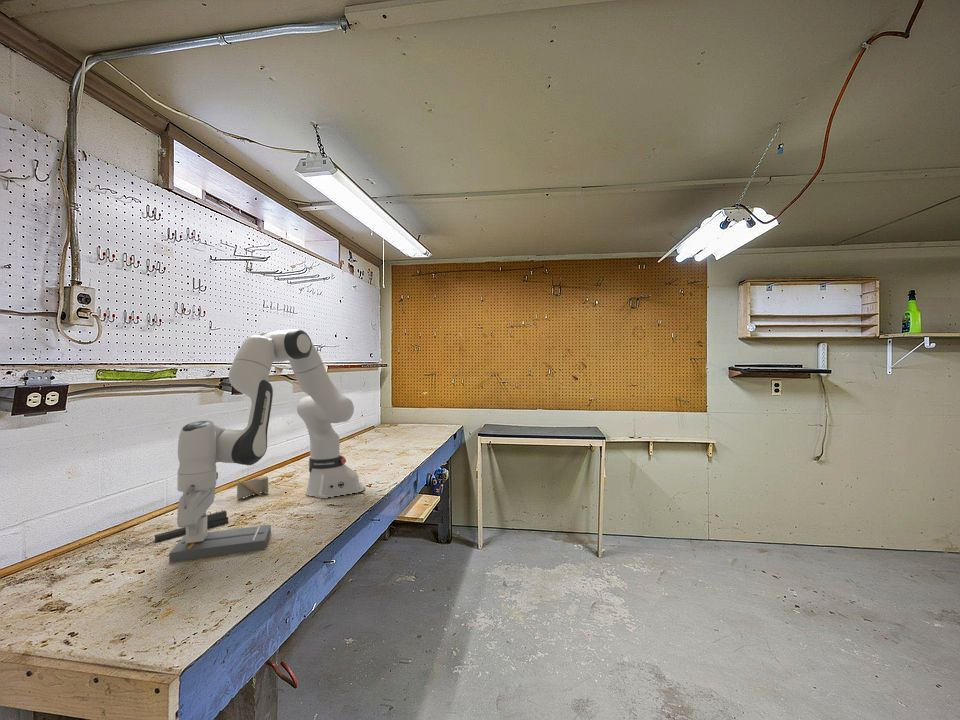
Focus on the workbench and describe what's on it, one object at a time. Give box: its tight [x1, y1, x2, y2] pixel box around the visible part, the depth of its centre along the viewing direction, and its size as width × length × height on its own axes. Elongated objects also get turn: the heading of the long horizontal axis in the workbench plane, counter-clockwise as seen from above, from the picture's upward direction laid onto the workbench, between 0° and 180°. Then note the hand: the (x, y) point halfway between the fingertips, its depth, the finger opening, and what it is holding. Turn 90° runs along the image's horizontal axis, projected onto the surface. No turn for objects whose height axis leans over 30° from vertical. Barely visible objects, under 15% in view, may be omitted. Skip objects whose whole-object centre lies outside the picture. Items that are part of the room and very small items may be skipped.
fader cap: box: [185, 513, 208, 543], centre depth 113 cm, size 4×4×6 cm
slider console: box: [168, 524, 272, 563], centre depth 115 cm, size 22×12×3 cm, turn 110°
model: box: [236, 475, 269, 500], centre depth 159 cm, size 3×11×8 cm, turn 154°
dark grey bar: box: [154, 509, 229, 543], centre depth 125 cm, size 19×3×4 cm, turn 142°
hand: (196, 531), depth 113 cm, fingers closed on fader cap, 4 cm apart
